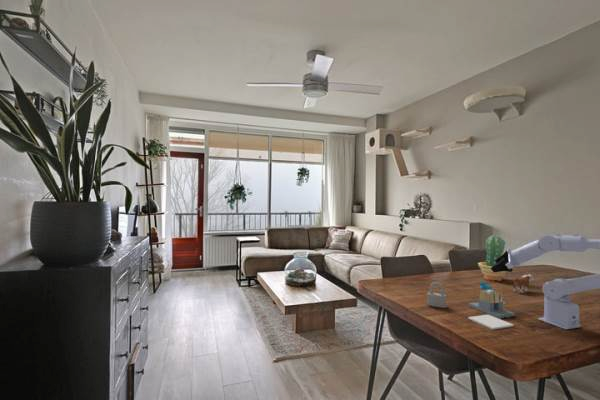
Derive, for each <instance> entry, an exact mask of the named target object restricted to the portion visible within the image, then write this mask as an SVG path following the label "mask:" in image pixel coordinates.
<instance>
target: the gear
mask: <svg viewBox="0 0 600 400" xmlns="http://www.w3.org/2000/svg"><path fill="white" fill-rule="evenodd" d="M479 285H480V288H481V289H482V291H483V290H493V291H496V289H495V288H493V289H492V286H491V285H488V283H487V282H484V281H481V282H480V284H479Z"/></svg>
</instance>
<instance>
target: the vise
mask: <svg viewBox="0 0 600 400" xmlns="http://www.w3.org/2000/svg"><path fill="white" fill-rule="evenodd" d="M487 292H488V293H491V294H493V293H494V291H493V289H492V290H487ZM504 305H506V301H503V300H502V302H499V303H489V302H486V301H484V300H481V299H480V298H479V299H478V301H477V302H468V307H470V308H473V309H475V310H477V311H480V312H482V313H485V314H486V315H491V316H493V317H496V318H498V319H505V318H504V317H506V318H512V317H511V316H513V317H515V316H516V313H515V312H512V311H510V310H507V309H505V308H504Z"/></svg>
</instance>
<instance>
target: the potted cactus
mask: <svg viewBox="0 0 600 400" xmlns="http://www.w3.org/2000/svg"><path fill="white" fill-rule="evenodd" d="M506 244H507V243H506V241H505V239H503V238H501V237H500V235H496V236H495V235H490V236H489V237H488V238H487V239H486V241H485V251H486V259H485V261H483V262H482V261H481V262H477V264H478V268H479V269H480V271H481V273H482V274H483V276H484V277H483V279H485V278H486V280H489V279H490V281H495V280H497V282H498V281H503V279H502V278H503V277H505V275H506V273H507V271H501V272H493V271H492V270H491V267H492V266H494V265H496V264H497V263H496V262H495V260H496V259H497V258H499V257H500V256H501V255H503V254H504V253H505V247H506Z"/></svg>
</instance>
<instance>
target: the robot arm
mask: <svg viewBox="0 0 600 400" xmlns="http://www.w3.org/2000/svg"><path fill="white" fill-rule="evenodd" d="M588 249H595V250H596V249H599V250H600V238H597V239H596V238H591V239H589V238H587V237H585V236H584V235H582V234H581V235H579V233H572V235H567V234H564V235H563V234H561V233H556V234H549V235H548V234H547V235H543V236H541V237H540V238H539V239H536V240H534V241H531V242H529V243H526V244H524V245H521V246H520V247H518V248H515V249H512V250H511V249H510V248H507V249H506V250H505V251H504V252H503V253H502V255H501V256H500V257H499V258H497V259H496V260H495V262H496V263H497V264H496V265H494V266H492V267H491V270H492V271H493V272H501V271H506V272H509V273H510V272H511V273H512V272H513V268H514V267H516V266H520V265H522V264H524V263H526V262H529V261H531V260H533V259H536V258H538V257H541V256H543V255H544V254H546V253H549V252H550V253H551V252H554V251H560V252H576V253H577V252H579V253H580V252H581V253H584V252H586V251H587V250H588ZM599 289H600V273H595V274H591V275H586V276H585V275H584V276H581V277H576V278H568V279H565V278H555V279H553V280H551V281H546V282H545V283H543V285H542V288H541V290H542V291H541V292H543V295H544V296H543V298H544V300H543V301H544V302H543V308H544V309H543V317H538V318H537V320H538V321H542V322H544V323H547V324H549V325H553V326H556V327H558V328H561V329H564V330H570V329H571V330H572V329H576V328H582V327H581V324H580V306H579V304H577V303H575V302H572V301H571V298H570V297H569V295H573V294H576V293H577V294H578V293H581V292H587V291H593V290H599Z"/></svg>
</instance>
